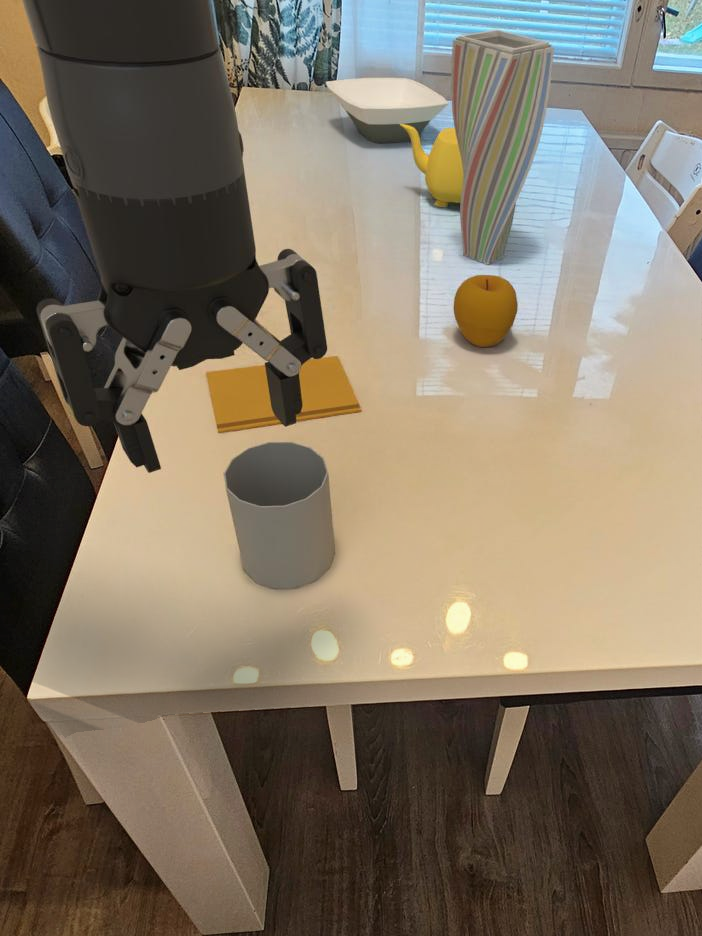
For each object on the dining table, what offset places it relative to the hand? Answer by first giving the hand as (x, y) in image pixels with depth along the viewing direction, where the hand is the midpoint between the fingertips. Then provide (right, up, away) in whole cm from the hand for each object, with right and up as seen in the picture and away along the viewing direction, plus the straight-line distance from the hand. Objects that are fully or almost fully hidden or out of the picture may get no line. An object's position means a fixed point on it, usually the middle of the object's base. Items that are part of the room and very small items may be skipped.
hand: (220, 440), depth 43 cm
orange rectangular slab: (-7, +10, +40) cm, 42 cm away
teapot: (+11, +55, +89) cm, 105 cm away
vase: (+17, +38, +72) cm, 83 cm away
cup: (-2, -8, +22) cm, 24 cm away
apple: (+16, +19, +53) cm, 59 cm away
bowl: (-5, +80, +113) cm, 138 cm away
